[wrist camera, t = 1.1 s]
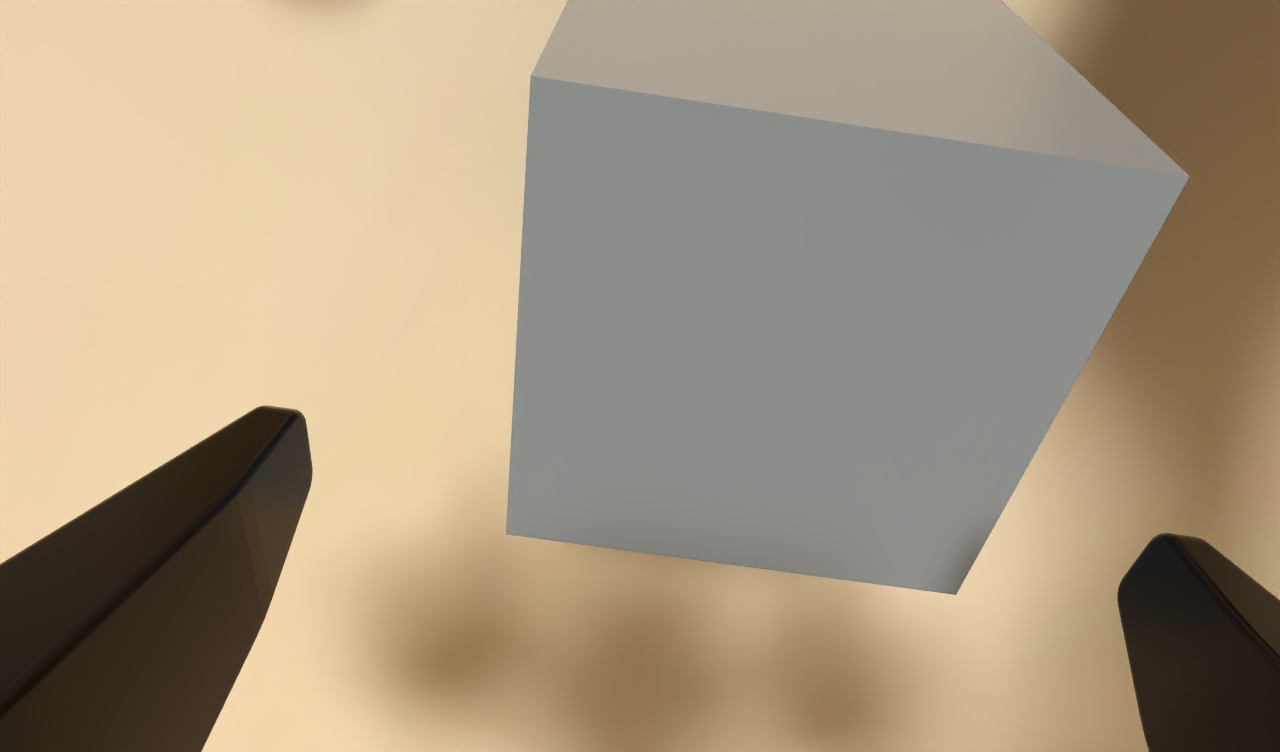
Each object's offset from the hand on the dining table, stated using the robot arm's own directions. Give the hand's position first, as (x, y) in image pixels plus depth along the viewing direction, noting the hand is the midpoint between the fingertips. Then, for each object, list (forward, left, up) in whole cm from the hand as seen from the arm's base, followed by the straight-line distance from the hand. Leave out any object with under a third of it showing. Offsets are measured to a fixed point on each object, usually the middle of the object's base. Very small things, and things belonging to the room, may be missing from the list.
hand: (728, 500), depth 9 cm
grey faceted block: (-1, +1, -12) cm, 12 cm away
